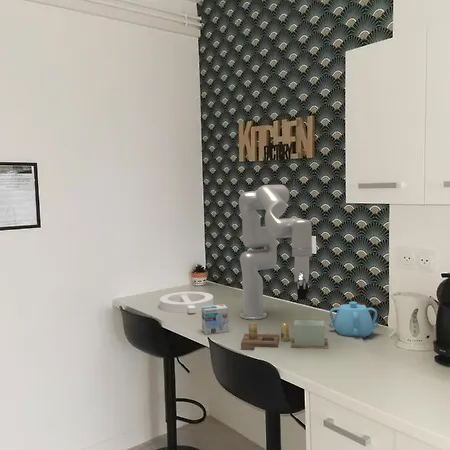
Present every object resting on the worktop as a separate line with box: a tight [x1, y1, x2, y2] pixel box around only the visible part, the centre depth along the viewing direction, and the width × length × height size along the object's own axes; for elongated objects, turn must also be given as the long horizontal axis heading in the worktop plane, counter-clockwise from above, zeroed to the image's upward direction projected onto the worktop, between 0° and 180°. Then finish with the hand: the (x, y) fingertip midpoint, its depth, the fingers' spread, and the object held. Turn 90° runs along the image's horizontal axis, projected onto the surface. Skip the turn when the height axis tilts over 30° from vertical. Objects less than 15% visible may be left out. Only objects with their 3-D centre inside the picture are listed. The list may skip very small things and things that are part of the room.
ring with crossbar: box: [159, 291, 215, 314], centre depth 257 cm, size 28×28×5 cm
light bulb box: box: [201, 303, 230, 335], centre depth 212 cm, size 11×7×11 cm, turn 105°
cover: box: [293, 319, 325, 346], centre depth 189 cm, size 7×11×8 cm, turn 81°
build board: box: [240, 322, 280, 351], centre depth 193 cm, size 12×14×8 cm
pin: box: [280, 321, 290, 342], centre depth 194 cm, size 3×3×8 cm
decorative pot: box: [328, 301, 379, 339], centre depth 202 cm, size 16×16×14 cm
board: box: [290, 337, 330, 350], centre depth 190 cm, size 12×14×7 cm
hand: (303, 296), depth 188 cm, fingers open, 9 cm apart
